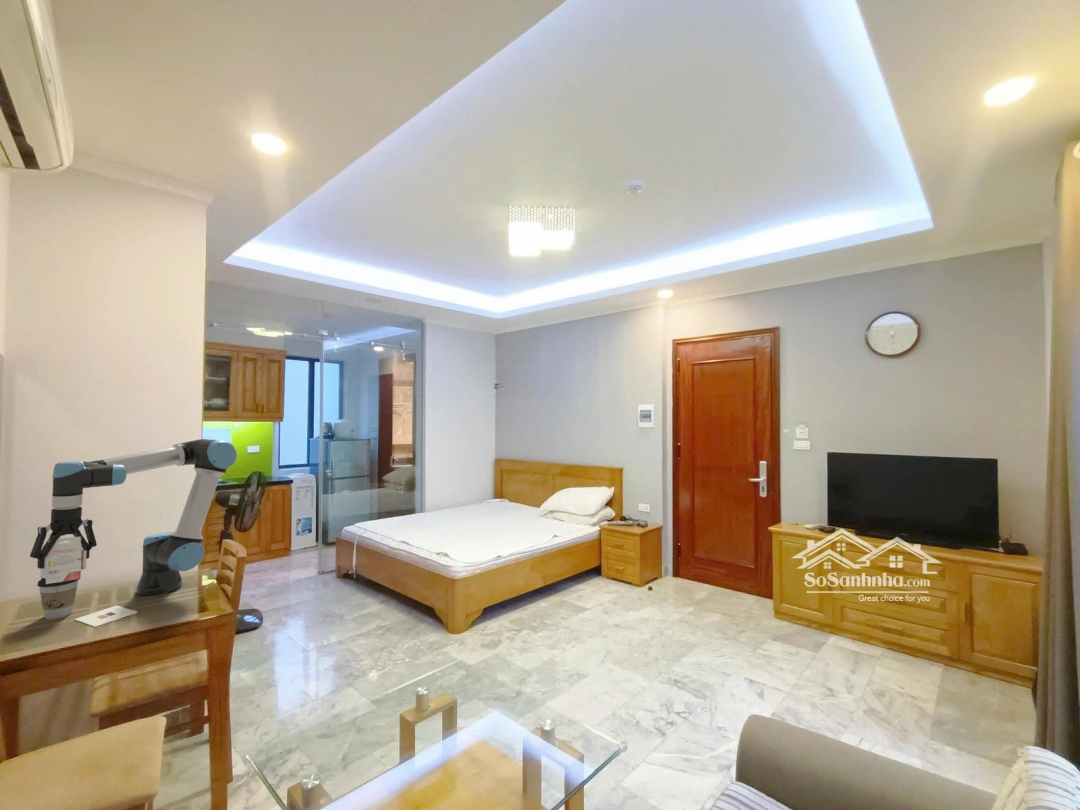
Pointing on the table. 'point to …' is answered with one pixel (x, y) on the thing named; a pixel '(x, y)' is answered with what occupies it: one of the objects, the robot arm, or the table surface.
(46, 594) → the coffee cup
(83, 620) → the pad
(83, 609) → the table surface
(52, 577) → the ink cartridge box
